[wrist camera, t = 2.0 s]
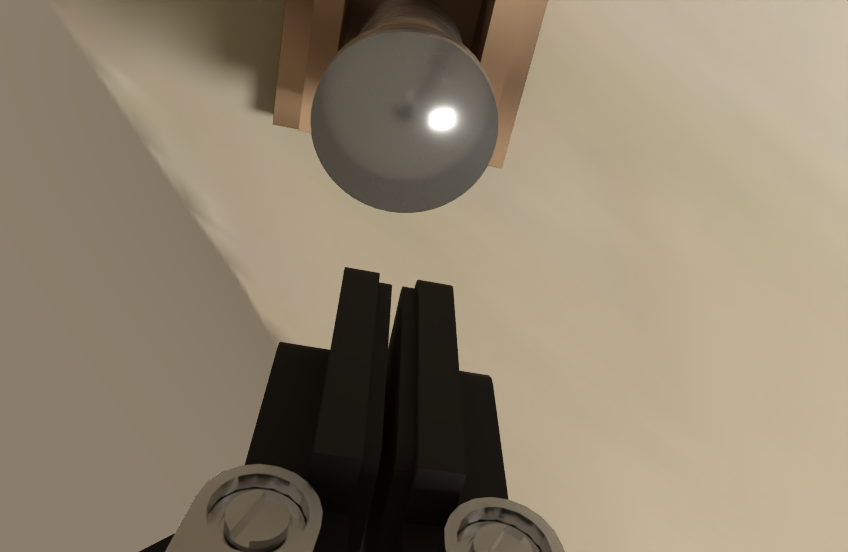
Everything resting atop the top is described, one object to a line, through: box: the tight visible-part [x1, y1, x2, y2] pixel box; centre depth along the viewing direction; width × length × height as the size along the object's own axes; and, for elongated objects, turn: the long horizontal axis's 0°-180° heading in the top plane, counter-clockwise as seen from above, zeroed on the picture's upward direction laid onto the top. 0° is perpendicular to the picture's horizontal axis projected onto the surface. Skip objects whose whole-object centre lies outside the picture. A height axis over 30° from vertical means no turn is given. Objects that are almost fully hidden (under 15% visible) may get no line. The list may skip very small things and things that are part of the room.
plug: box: [310, 0, 499, 213], centre depth 23 cm, size 5×5×8 cm
